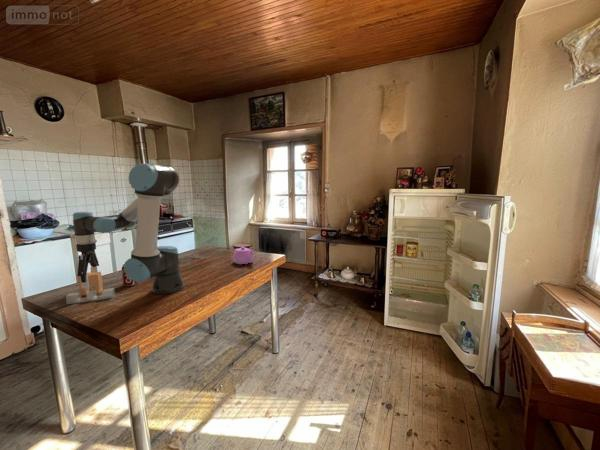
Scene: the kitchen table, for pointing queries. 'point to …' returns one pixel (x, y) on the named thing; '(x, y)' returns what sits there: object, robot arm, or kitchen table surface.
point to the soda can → (127, 279)
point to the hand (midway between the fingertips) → (90, 283)
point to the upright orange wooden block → (92, 282)
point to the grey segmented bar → (90, 296)
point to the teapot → (243, 256)
